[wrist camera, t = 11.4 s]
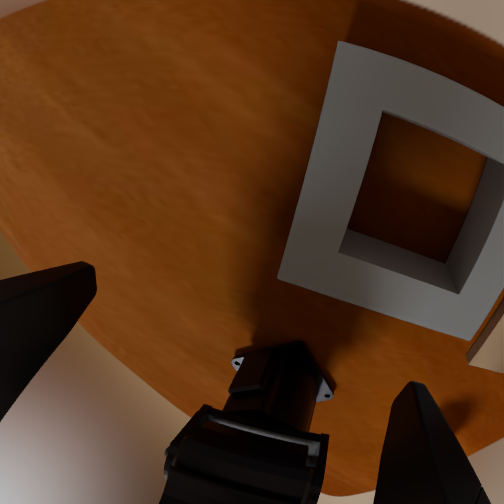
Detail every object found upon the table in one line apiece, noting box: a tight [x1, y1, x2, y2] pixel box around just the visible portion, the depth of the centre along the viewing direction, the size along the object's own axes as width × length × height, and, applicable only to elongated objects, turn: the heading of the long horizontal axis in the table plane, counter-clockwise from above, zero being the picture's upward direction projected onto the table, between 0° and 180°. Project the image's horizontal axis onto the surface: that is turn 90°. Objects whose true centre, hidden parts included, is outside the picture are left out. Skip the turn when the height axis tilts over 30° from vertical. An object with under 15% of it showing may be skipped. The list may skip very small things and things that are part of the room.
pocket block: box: [277, 41, 504, 341], centre depth 14 cm, size 12×12×4 cm
